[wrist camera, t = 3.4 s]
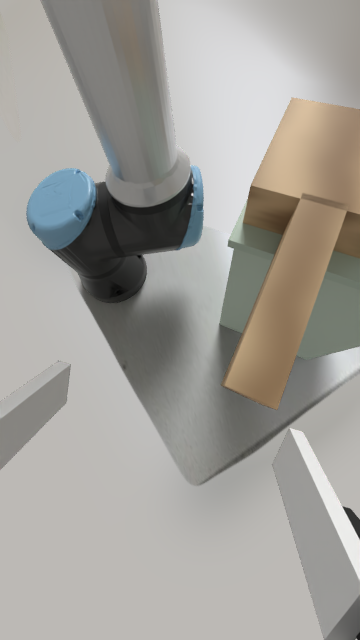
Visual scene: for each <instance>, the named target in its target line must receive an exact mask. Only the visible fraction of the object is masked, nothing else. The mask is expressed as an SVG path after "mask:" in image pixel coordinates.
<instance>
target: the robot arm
mask: <svg viewBox="0 0 360 640" xmlns="http://www.w3.org/2000/svg"><path fill="white" fill-rule="evenodd" d="M41 3H42V5H43V8H44V10H45V12H46V15H47V17H48V19H49V22H50V24H51V27H52V29H53V31H54V34H55V36H56V38H57V40H58V43H59V45H60V48H61V50H62V52H63V55H64V57H65V60H66V62H67V64H68V67H69V69H70V72H71V74H72V76H73V79H74V81H75V83H76V86H77V88H78V91H79V93H80V95H81V98H82V100H83V102H84V105H85V107H86V109H87V112H88V114H89V117H90V119H91V121H92V124H93V126H94V128H95V131H96V133H97V136H98V138H99V140H100V143H101V145H102V147H103V150H104V152H105V155H106V157H107V159H108V162H109V164H110V165H109V167H108V169H107V173H106V182H100V183H94V181H93V180H92V178H91V177H90V176H88V175H87V174H86V173H85V172H81V171H80V170H79V169H74V168H70V169H63V170H59V171H57V172H54V173H52V174H51V175H49V176H48V177H46V178H45V179H44V180H43V181H42V182H41V183H40V184H39V185H38V187H37V188H36V189H35V190H34V191H33V193H32V195H31V197H30V199H29V202H28V205H27V213H26V214H27V221H28V225H29V227H30V229H31V230H32V232H33V233H34V234H35V235H36V236H37V237H38V238H39V239H40V240H41V241H42V243H43V244H44V245H45V246H46V247H47V248H48V249H50V250H51V251H52V252H54V253H55V254H56V255H57V256H58V257H59V258H61V259H62V260H63V261H64V262H65V263H67V264H68V265H69V266H70V267H72V268H73V269H74V270H75V271H76V272H78V275H79V277H80V279H81V282H82V284H83V286H84V288H85V289H86V290H87V291H88V293H90V294H91V295H92V296H93V297H95V298H96V299H98V300H100V301H103V302H108V303H115V302H120V301H123V300H126V299H128V298H130V297H131V296H133V295H134V294H135V293H136V292H137V291H138V290H139V289H140V288H141V286H142V285H143V283H144V280H145V277H146V273H147V267H146V262H145V259H144V257H143V254H150V253H158V252H165V251H172V250H180V249H181V248H185V247H190V246H194V245H195V244H197V243H198V241H199V240H200V237H201V234H202V228H203V199H204V197H203V184H202V177H201V172H200V169H199V168H198V167H197V166H193V165H190V160H189V158H188V156H187V154H186V153H185V151H184V150H182V149H181V148H180V147H179V146H177V145H176V139H175V131H174V123H173V115H172V108H171V101H170V92H169V85H168V77H167V69H166V63H165V55H164V46H163V39H162V31H161V23H160V15H159V8H158V0H41ZM70 366H71V364H68V363H65V362H61V361H58V362H56V363H55V364H54V365H52V366H50V367H49V368H48V369H46V370H45V371H43V372H42V373H40V374H39V375H38V376H36V377H35V378H33V379H32V380H30V381H29V382H27V383H26V384H24V385H23V386H22V387H20V388H19V389H17V390H16V391H14V392H13V393H11V394H10V395H9V396H7V397H6V398H4V399H3V400H1V401H0V470H1V469H2V468H3V467H4V466H5V465H6V464H7V462H8V461H9V460H11V458H13V456H14V455H15V454H16V453H17V452H18V451H19V450H20V449H21V448H22V447H23V446H24V445H25V444H26V443H27V442H28V441H29V440H30V439H31V438H32V437H33V436H34V435H35V434H36V433H37V432H38V431H39V430H40V429H41V428H42V427H43V426H44V425H45V424H46V423H47V422H48V421H49V420H50V419H51V418H52V417H53V416H54V415H55V414H56V413H57V411H58V410H60V409H61V407H63V406H64V404H65V403H66V401H67V392H68V383H69V375H70ZM273 469H274V472H275V475H276V479H277V482H278V485H279V489H280V492H281V496H282V499H283V502H284V506H285V509H286V513H287V516H288V519H289V523H290V526H291V529H292V533H293V536H294V540H295V543H296V546H297V550H298V553H299V556H300V560H301V563H302V567H303V570H304V573H305V577H306V580H307V583H308V587H309V590H310V594H311V597H312V600H313V603H314V607H315V610H316V614H317V617H318V621H319V624H320V627H321V631H322V634H323V638H324V640H355V639H356V638H357V639H358V640H360V519H359V518H358V517H357V516H356V515H355V513H354V512H353V511H352V510H351V509H349V508H346V507H343V506H342V505H341V503H340V501H339V499H338V498H337V496H336V494H335V492H334V490H333V488H332V486H331V484H330V483H329V480H328V479H327V477H326V475H325V473H324V471H323V469H322V467H321V465H320V463H319V461H318V460H317V458H316V456H315V454H314V452H313V450H312V448H311V446H310V444H309V442H308V440H307V439H306V437H305V435H304V433H303V432H302V431H298V430H295V429H292V428H289V430H288V432H287V434H286V436H285V438H284V440H283V443H282V445H281V447H280V449H279V451H278V454H277V456H276V458H275V460H274V462H273Z"/></svg>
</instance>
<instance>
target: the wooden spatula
mask: <svg viewBox="0 0 360 640" xmlns="http://www.w3.org/2000/svg"><path fill="white" fill-rule="evenodd" d="M243 223H245V224H248V225H251V226H255V227H258V228H261V229H264V230H268V231H271V232H274V233H278V234H281V235H282V237H281V240H280V242H279V244H278V247H277V249H276V252H275V254H274V257H273V259H272V261H271V264H270V266H269V269H268V271H267V274H266V276H265V279H264V281H263V283H262V286H261V288H260V291H259V293H258V296H257V298H256V300H255V303H254V305H253V308H252V310H251V313H250V315H249V318H248V320H247V322H246V325H245V327H244V330H243V332H242V335H241V337H240V340H239V342H238V344H237V347H236V349H235V352H234V354H233V357H232V359H231V361H230V364H229V366H228V369H227V371H226V374H225V376H224V379H223V381H222V383H221V386H223V387H225V388H227V389H229V390H231V391H233V392H236V393H238V394H240V395H242V396H244V397H246V398H248V399H251V400H253V401H255V402H257V403H259V404H261V405H264V406H267V407H270V408H273V409H275V410H277V409H278V406H279V403H280V400H281V398H282V395H283V392H284V389H285V386H286V383H287V381H288V378H289V375H290V372H291V369H292V366H293V363H294V361H295V358H296V355H297V352H298V349H299V346H300V343H301V341H302V338H303V335H304V332H305V329H306V326H307V323H308V321H309V318H310V315H311V312H312V309H313V306H314V304H315V301H316V298H317V295H318V292H319V289H320V286H321V284H322V281H323V278H324V275H325V272H326V269H327V266H328V264H329V261H330V258H331V255H332V252H333V250H334V251H337V252H340V253H343V254H347V255H350V256H353V257H357V258H360V109H354V108H349V107H343V106H337V105H332V104H326V103H321V102H315V101H309V100H303V99H298V98H291V101H290V103H289V105H288V107H287V109H286V111H285V114H284V116H283V118H282V120H281V122H280V124H279V126H278V129H277V131H276V133H275V135H274V137H273V139H272V141H271V143H270V145H269V147H268V150H267V152H266V154H265V156H264V158H263V160H262V163H261V165H260V167H259V169H258V171H257V173H256V175H255V177H254V180H253V182H252V184H251V187H250V191H249V196H248V201H247V205H246V210H245V214H244V219H243Z"/></svg>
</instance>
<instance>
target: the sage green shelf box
mask: <svg viewBox="0 0 360 640" xmlns="http://www.w3.org/2000/svg"><path fill="white" fill-rule="evenodd" d="M247 201H248V199H247ZM247 201H246V204H245V206H244V208H243V210H242V212H241V214H240V216H239V219H238V221H237V223H236V225H235V227H234V229H233V231H232V234H231V236H230V238H229V241H228V247H231V248H234V251H233V256H232V262H231V267H230V272H229V277H228V282H227V287H226V292H225V298H224V303H223V308H222V313H221V318H220V323H219V324H220V325H222V326H225V327H227V328H230V329H232V330H235V331H237V332H240V333H242V332H243V330H244V327H245V325H246V322H247V320H248V318H249V315H250V313H251V310H252V308H253V305H254V303H255V300H256V298H257V296H258V293H259V291H260V288H261V286H262V283H263V281H264V279H265V276H266V274H267V271H268V269H269V266H270V264H271V261H272V259H273V257H274V254H275V252H276V249H277V247H278V244H279V242H280V240H281V237H282V235H281V234H278V233H274V232H271V231H268V230H264V229H261V228H258V227H255V226H251V225H248V224H245V223H243V219H244V214H245V210H246V205H247ZM359 346H360V258H357V257H353V256H350V255H347V254H343V253H340V252H337V251H334V250H333V252H332V255H331V258H330V261H329V264H328V266H327V269H326V272H325V275H324V278H323V281H322V284H321V286H320V289H319V292H318V295H317V298H316V301H315V304H314V306H313V309H312V312H311V315H310V318H309V321H308V323H307V326H306V329H305V332H304V335H303V338H302V341H301V343H300V346H299V349H298V352H297V355H296V356H298V357H301V358H303V359H305V360H308V359H312V358H316V357H320V356H324V355H328V354H332V353H336V352H340V351H344V350H347V349H351V348H355V347H359Z"/></svg>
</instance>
